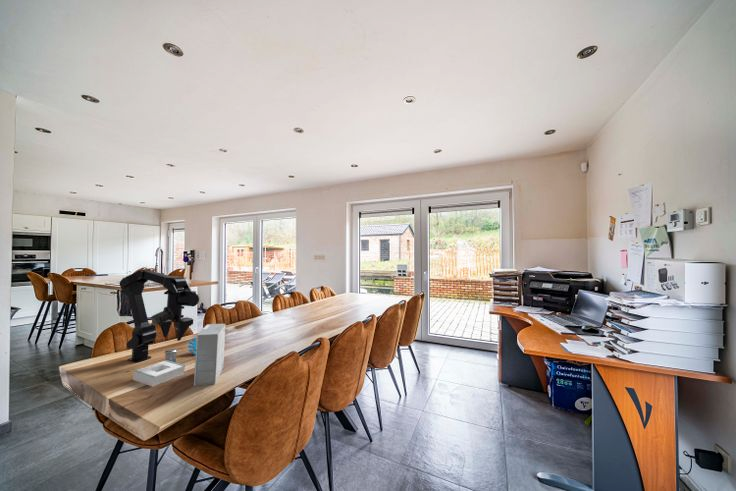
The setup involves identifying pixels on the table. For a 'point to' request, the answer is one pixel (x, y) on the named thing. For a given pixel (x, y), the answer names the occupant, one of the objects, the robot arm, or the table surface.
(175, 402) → the table surface
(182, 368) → the jig
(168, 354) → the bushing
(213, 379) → the hard drive box
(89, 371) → the table surface
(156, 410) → the table surface
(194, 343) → the gear
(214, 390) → the table surface
